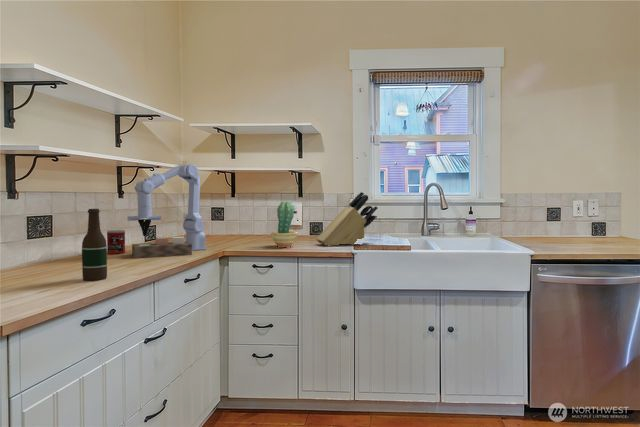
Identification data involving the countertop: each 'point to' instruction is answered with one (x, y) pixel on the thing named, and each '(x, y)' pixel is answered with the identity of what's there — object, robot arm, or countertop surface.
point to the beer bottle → (94, 250)
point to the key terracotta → (162, 241)
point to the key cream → (178, 240)
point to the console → (161, 250)
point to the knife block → (348, 223)
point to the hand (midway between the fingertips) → (144, 235)
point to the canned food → (116, 241)
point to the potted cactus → (284, 226)
